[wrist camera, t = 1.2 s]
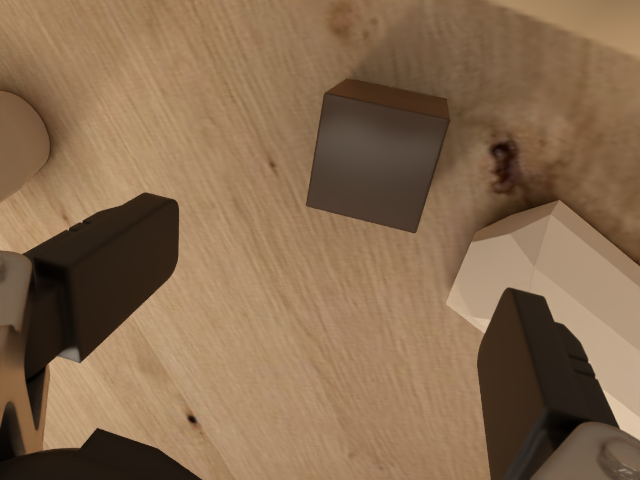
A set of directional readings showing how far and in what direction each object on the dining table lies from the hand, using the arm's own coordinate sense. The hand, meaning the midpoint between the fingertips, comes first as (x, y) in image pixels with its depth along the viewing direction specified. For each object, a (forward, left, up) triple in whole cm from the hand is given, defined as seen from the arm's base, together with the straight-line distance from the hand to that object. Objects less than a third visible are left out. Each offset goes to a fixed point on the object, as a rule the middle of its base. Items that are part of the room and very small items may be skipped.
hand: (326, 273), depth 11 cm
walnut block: (0, 0, -14) cm, 14 cm away
